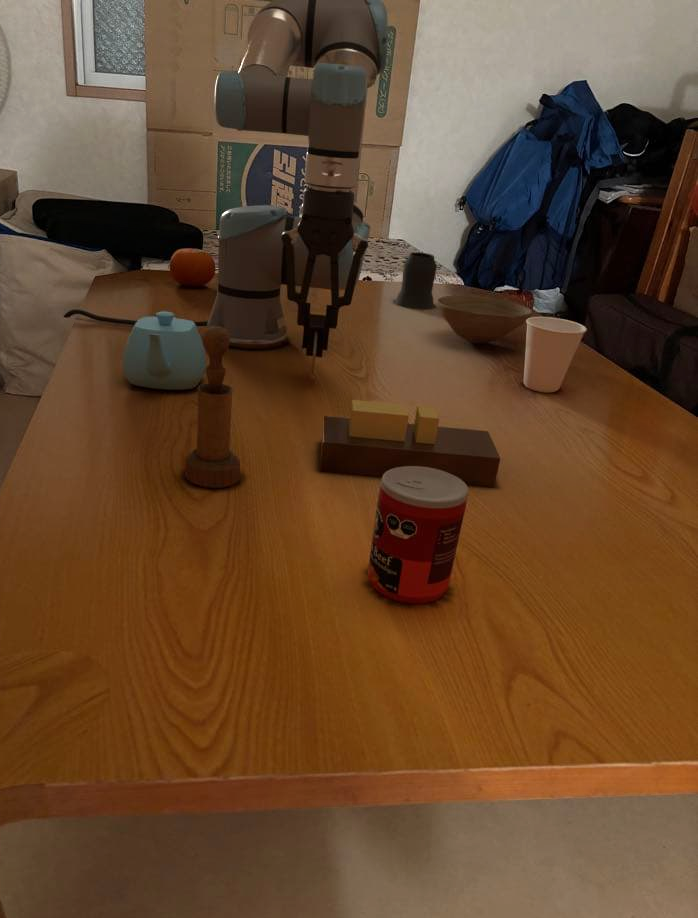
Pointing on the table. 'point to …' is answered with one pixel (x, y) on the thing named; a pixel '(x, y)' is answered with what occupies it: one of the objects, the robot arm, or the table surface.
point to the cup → (549, 351)
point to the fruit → (192, 267)
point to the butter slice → (426, 424)
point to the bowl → (481, 317)
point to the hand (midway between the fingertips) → (314, 346)
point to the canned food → (416, 533)
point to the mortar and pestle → (213, 421)
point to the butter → (378, 420)
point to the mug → (417, 281)
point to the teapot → (164, 353)
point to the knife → (315, 338)
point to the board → (410, 453)
